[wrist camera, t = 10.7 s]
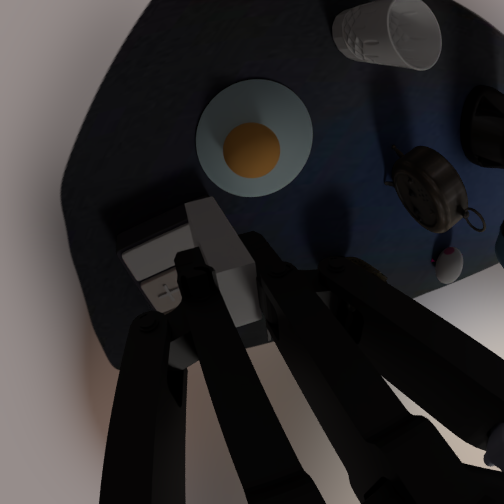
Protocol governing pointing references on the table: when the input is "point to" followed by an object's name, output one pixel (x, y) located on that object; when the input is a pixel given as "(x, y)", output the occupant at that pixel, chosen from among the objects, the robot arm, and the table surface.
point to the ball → (251, 150)
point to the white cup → (389, 34)
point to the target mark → (263, 112)
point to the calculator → (156, 256)
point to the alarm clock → (430, 189)
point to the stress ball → (449, 265)
